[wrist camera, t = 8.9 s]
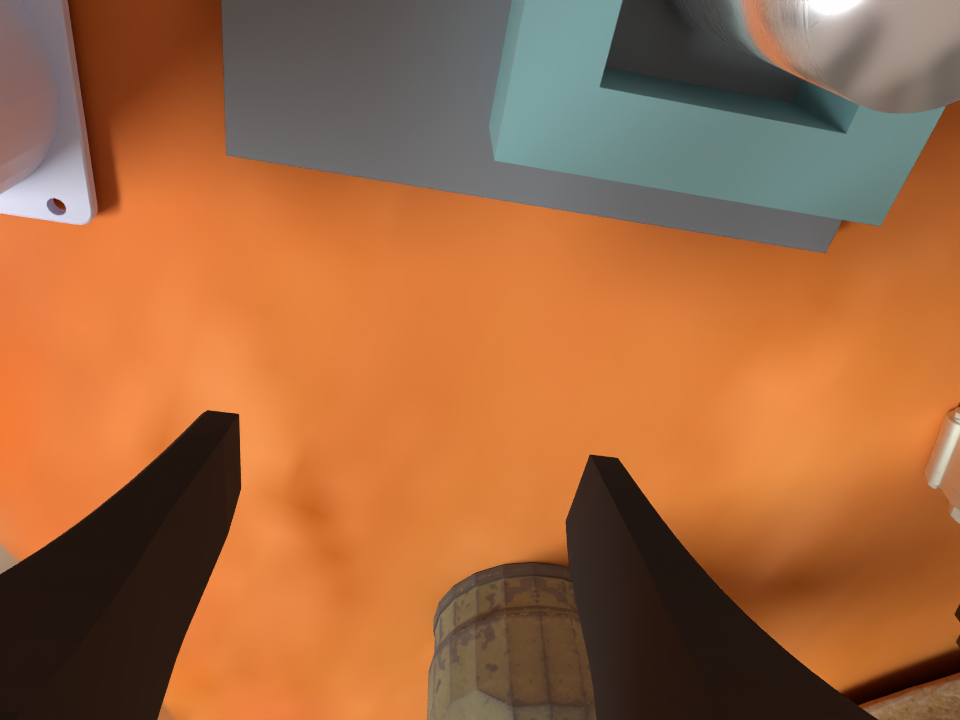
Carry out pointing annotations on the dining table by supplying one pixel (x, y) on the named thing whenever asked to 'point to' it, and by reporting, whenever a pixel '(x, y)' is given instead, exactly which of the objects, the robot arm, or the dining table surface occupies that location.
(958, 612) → the pneumatic valve
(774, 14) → the pin
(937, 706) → the brown upright piece
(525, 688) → the stone statue
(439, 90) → the block
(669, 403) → the dining table surface
